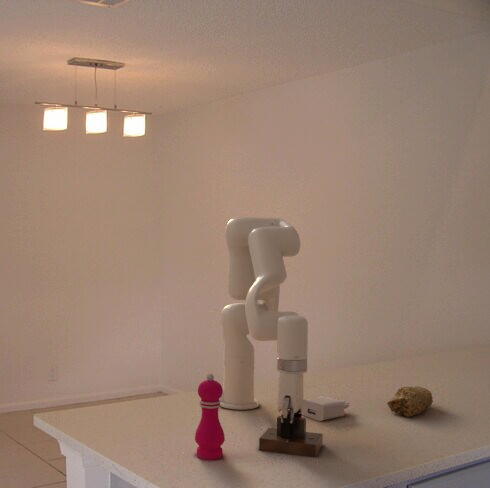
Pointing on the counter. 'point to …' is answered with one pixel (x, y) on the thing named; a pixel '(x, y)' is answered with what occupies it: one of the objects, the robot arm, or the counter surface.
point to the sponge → (410, 401)
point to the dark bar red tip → (298, 427)
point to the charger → (323, 408)
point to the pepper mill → (209, 421)
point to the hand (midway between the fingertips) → (291, 433)
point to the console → (291, 443)
